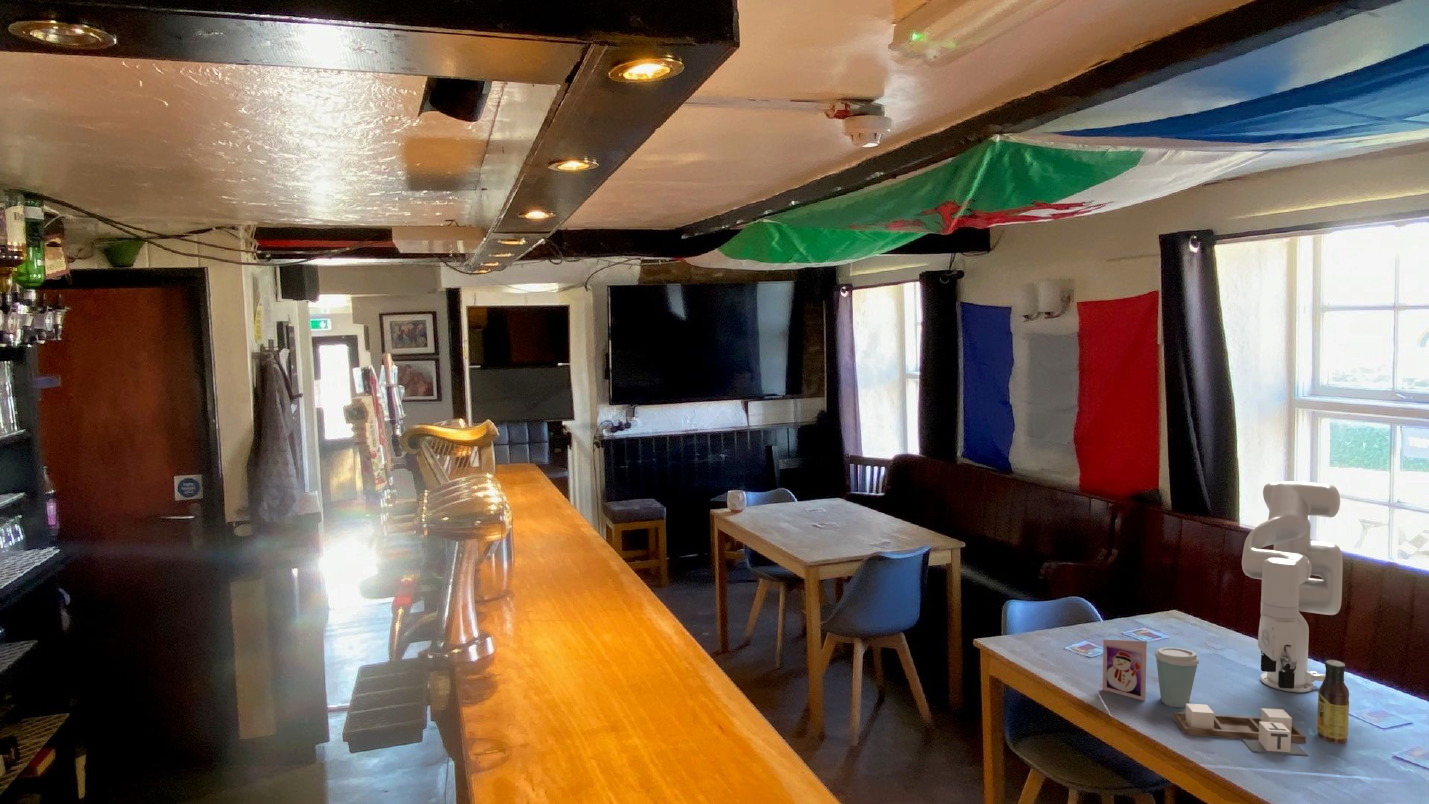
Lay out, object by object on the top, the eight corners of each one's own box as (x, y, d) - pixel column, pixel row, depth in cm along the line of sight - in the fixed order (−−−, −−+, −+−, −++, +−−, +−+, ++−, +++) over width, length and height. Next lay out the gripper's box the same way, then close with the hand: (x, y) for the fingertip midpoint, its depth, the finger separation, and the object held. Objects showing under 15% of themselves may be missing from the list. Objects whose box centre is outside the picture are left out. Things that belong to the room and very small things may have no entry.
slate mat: (1296, 746, 211) (1296, 743, 211) (1307, 758, 205) (1307, 754, 205) (1242, 742, 213) (1242, 739, 213) (1252, 754, 207) (1252, 750, 207)
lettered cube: (1281, 742, 211) (1281, 722, 211) (1290, 752, 206) (1291, 732, 206) (1258, 741, 212) (1259, 721, 212) (1267, 750, 207) (1267, 730, 207)
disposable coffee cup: (1144, 699, 239) (1145, 646, 237) (1173, 693, 242) (1174, 641, 241) (1177, 715, 229) (1178, 660, 228) (1206, 708, 233) (1208, 654, 231)
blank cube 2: (1282, 728, 219) (1282, 709, 219) (1291, 737, 214) (1291, 718, 214) (1260, 727, 220) (1261, 708, 220) (1268, 736, 215) (1269, 716, 215)
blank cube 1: (1206, 723, 223) (1207, 704, 222) (1213, 732, 218) (1214, 713, 217) (1185, 722, 224) (1185, 703, 223) (1192, 730, 219) (1192, 711, 218)
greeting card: (1101, 692, 244) (1102, 640, 243) (1111, 684, 249) (1112, 633, 248) (1144, 703, 236) (1145, 650, 235) (1153, 695, 241) (1154, 643, 240)
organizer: (1288, 727, 221) (1288, 719, 221) (1305, 744, 212) (1306, 736, 211) (1172, 719, 226) (1173, 711, 226) (1185, 736, 217) (1185, 728, 217)
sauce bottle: (1317, 731, 218) (1320, 655, 217) (1348, 738, 214) (1351, 660, 213) (1315, 741, 213) (1318, 663, 212) (1346, 748, 209) (1350, 669, 208)
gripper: (1247, 598, 216) (1245, 664, 217) (1277, 622, 199) (1275, 693, 200) (1280, 599, 214) (1278, 666, 216) (1314, 623, 197) (1311, 695, 199)
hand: (1276, 679), depth 208 cm, fingers open, 9 cm apart
